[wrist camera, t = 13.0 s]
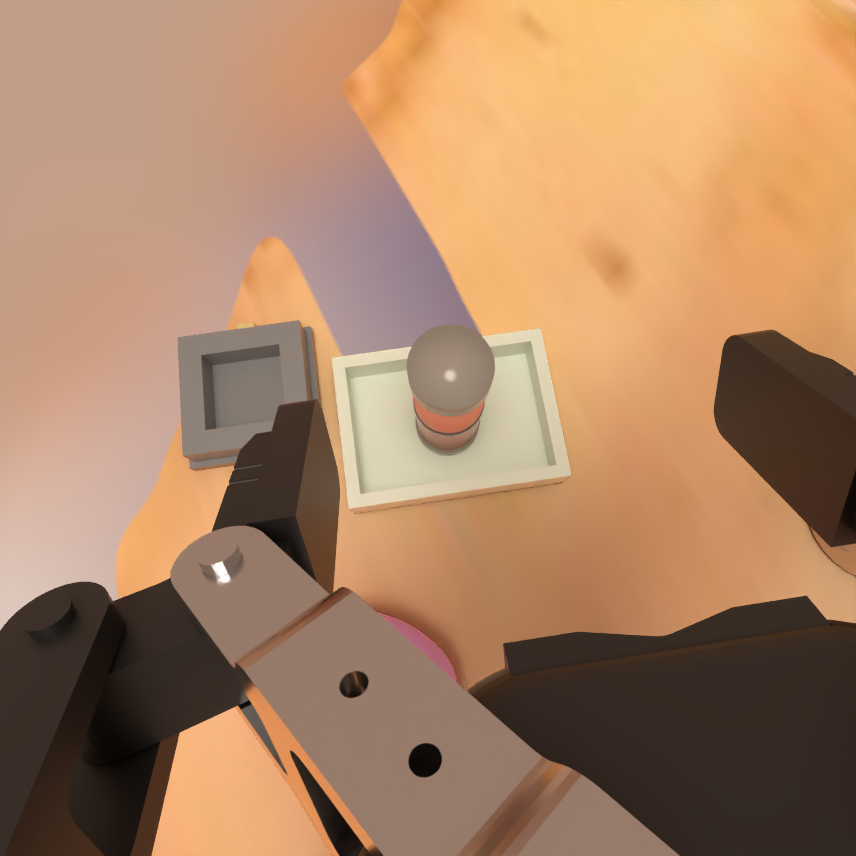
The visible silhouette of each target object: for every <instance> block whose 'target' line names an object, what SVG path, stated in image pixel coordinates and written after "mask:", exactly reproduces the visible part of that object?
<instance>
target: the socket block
mask: <svg viewBox="0 0 856 856" xmlns="http://www.w3.org/2000/svg"><path fill="white" fill-rule="evenodd" d="M178 355H179V377H180V399H181V400H180V401H181V423H182V446H183V456H184V457H186V458H188V459H189V462H190V469H192V470H194V471H196V470H203V469H210V468H217V467H224V466H231V465H235V463H236V460H237V457H238V454H239V452H240V450H241V449H242V448H243V447H244V445H245V444H246V443H247V442H248V441H249V440H250V439H251V438H252V437H253V436H254V435H255V434H256V433H263V432H269V431H272V427H273V424H274V420H275V416H276V413H277V409H278V406H279V405H281V404H288V403H294V402H301V401H307V400H314V399H318V401H319V403H320V405H321V402H320V392H319V383H318V373H317V364H316V355H315V345H314V336H313V330H312V328H311V326H310V327H302V325H301V323H300V321H299V320H298V321H291V322H284V323H277V324H270V325H263V326H256V327H255V323H254V322H250V323H243V324H237V329H234V330H227V331H221V332H214V333H206V334H199V335H192V336H185V337H178Z"/></svg>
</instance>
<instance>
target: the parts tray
mask: <svg viewBox="0 0 856 856" xmlns="http://www.w3.org/2000/svg"><path fill="white" fill-rule="evenodd" d="M483 338H484V339H485V341H486V342H487V343H488V345H489V346H490V348H491V350H492V353H493V356H494V360H495V373H494V378H493V381H492V384H491V388H490V391H489V393H488V395H487V397H486V398H485V404H484V409H483V412H482V415H481V417H480V425H479V429H478V433H477V436H476V438H475V440H474V442H473V443H472V445H471V446H470V447H469V448H468V449H467V450H465V451H464V452H462V453H460V454H457V455H452V456H443V455H438V454H435V453H433V452H431V451H430V450H428V449H427V448H426V447H425V446H424V445H423V444H422V442H421V441H420V439H419V437H418V434H417V429H416V422H415V419H416V414H415V411H414V406H413V394H412V392H411V389H410V386H409V380H408V374H407V359H408V355H409V352H410V349H411V348H412V347H406V348H399V349H392V350H385V351H377V352H370V353H363V354H356V355H349V356H342V357H335V358H332V366H333V375H334V384H335V393H336V401H337V410H338V419H339V428H340V437H341V445H342V454H343V463H344V472H345V480H346V489H347V498H348V507H349V509H350V510H351V511H352V512H354V513H355V514H356V513H362V512H369V511H376V510H383V509H389V508H396V507H403V506H409V505H416V504H423V503H429V502H436V501H443V500H449V499H456V498H463V497H470V496H476V495H483V494H490V493H496V492H503V491H510V490H516V489H523V488H530V487H536V486H543V485H550V484H557V483H562V482H563V481H565V480H566V479H567V478H569V477H570V476H572V474H571V470H570V465H569V460H568V455H567V451H566V446H565V441H564V437H563V432H562V427H561V422H560V418H559V413H558V408H557V403H556V399H555V394H554V389H553V384H552V380H551V375H550V370H549V366H548V361H547V356H546V351H545V347H544V342H543V337H542V332H541V328H539V329H532V330H525V331H518V332H511V333H504V334H497V335H490V336H483Z"/></svg>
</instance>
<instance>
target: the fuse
mask: <svg viewBox="0 0 856 856" xmlns="http://www.w3.org/2000/svg"><path fill="white" fill-rule="evenodd" d="M494 373H495V360H494V356H493V353H492V350H491V348H490V346H489V345H488V343H487V342H486V341H485V339H484V338H483V337H482V336H480V335H479V334H478V333H477V332H475V331H473V330H471V329H469V328H467V327H463V326H459V325H442V326H438V327H435V328H433V329H430V330H428V331H427V332H425V333H424V334H422V335H421V336H420V337H419V338H418V339H417V340H416V341H415V343H414V344H413V346H412V348H411V349H410V352H409V355H408V359H407V374H408V380H409V386H410V389H411V392H412V394H413V406H414V411H415V414H416V419H415V422H416V429H417V434H418V437H419V439H420V441H421V442H422V444H423V445H424V446H425V447H426V448H427V449H428V450H430V451H431V452H433V453H435V454H438V455H443V456H452V455H457V454H460V453H462V452H464V451H465V450H467V449H468V448H469V447H470V446H471V445H472V443H473V442H474V440H475V438H476V436H477V433H478V429H479V425H480V417H481V415H482V412H483V409H484V404H485V398H486V397H487V395H488V393H489V391H490V388H491V384H492V381H493V378H494Z"/></svg>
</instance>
